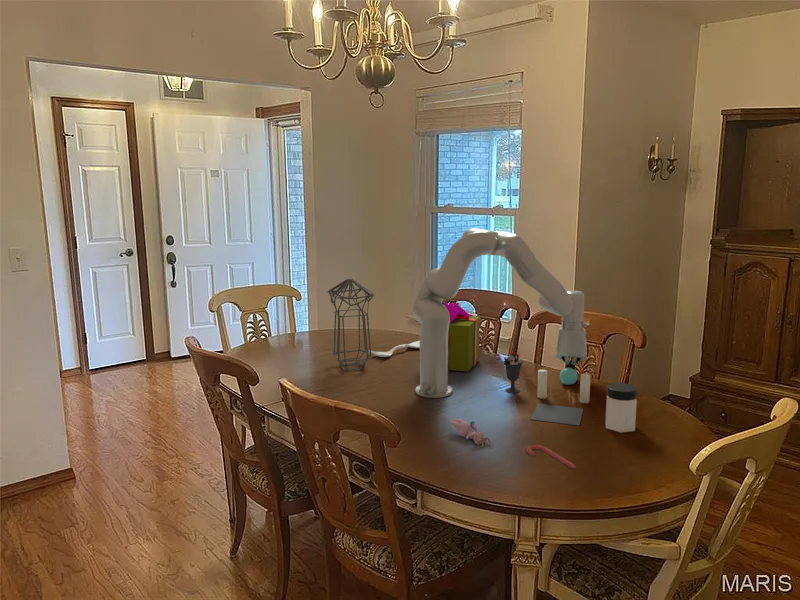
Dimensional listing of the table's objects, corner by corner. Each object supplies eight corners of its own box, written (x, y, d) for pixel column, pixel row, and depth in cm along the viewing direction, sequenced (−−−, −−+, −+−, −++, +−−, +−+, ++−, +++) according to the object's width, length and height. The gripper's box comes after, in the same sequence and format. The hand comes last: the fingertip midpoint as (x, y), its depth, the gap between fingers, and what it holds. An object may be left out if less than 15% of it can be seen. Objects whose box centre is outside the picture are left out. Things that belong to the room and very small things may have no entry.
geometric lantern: (366, 360, 245) (364, 274, 239) (377, 371, 231) (375, 280, 224) (328, 364, 240) (324, 277, 234) (336, 375, 226) (333, 283, 219)
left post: (545, 399, 198) (546, 372, 196) (536, 398, 199) (537, 371, 197) (547, 396, 201) (547, 370, 199) (538, 395, 202) (538, 369, 200)
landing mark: (579, 425, 176) (579, 425, 176) (530, 419, 181) (530, 419, 181) (583, 409, 188) (583, 408, 188) (537, 404, 193) (537, 403, 193)
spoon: (367, 358, 249) (367, 350, 249) (421, 343, 271) (421, 336, 271) (382, 362, 243) (382, 354, 242) (436, 347, 265) (436, 339, 264)
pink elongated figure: (494, 448, 165) (458, 422, 176) (497, 428, 163) (461, 404, 175) (477, 454, 162) (442, 428, 173) (479, 434, 160) (444, 409, 171)
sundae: (524, 389, 208) (525, 346, 205) (519, 395, 202) (520, 351, 199) (505, 386, 211) (506, 345, 208) (500, 392, 205) (501, 349, 202)
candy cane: (557, 475, 147) (558, 470, 147) (521, 451, 161) (521, 446, 160) (577, 470, 150) (577, 465, 149) (539, 447, 163) (540, 442, 163)
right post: (588, 403, 193) (590, 376, 191) (579, 402, 194) (580, 375, 192) (589, 400, 196) (590, 374, 194) (579, 399, 197) (581, 373, 195)
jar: (613, 434, 170) (616, 393, 167) (598, 423, 177) (600, 384, 175) (642, 430, 171) (644, 390, 169) (625, 420, 179) (627, 381, 177)
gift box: (480, 358, 246) (480, 298, 241) (477, 374, 225) (478, 308, 221) (430, 356, 249) (429, 297, 245) (423, 371, 229) (422, 307, 224)
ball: (576, 387, 208) (576, 371, 207) (558, 386, 210) (558, 369, 209) (577, 382, 214) (578, 366, 213) (560, 380, 216) (560, 364, 215)
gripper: (594, 324, 216) (592, 373, 219) (552, 321, 221) (550, 369, 225) (593, 329, 209) (591, 379, 213) (549, 326, 214) (548, 375, 218)
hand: (570, 374), depth 219 cm, fingers closed
